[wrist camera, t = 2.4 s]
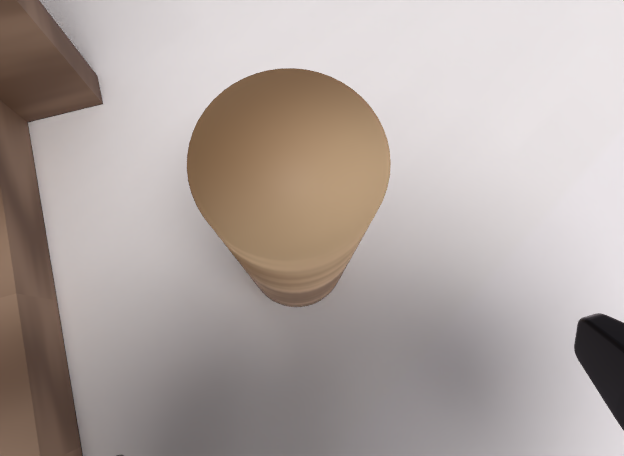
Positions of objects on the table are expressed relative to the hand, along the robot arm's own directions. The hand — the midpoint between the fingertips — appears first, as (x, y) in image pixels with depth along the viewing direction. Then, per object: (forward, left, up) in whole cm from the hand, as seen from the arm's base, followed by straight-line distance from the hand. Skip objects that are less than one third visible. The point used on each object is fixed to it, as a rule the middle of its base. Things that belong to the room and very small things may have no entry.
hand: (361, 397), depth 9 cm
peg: (+4, -2, -11) cm, 12 cm away
